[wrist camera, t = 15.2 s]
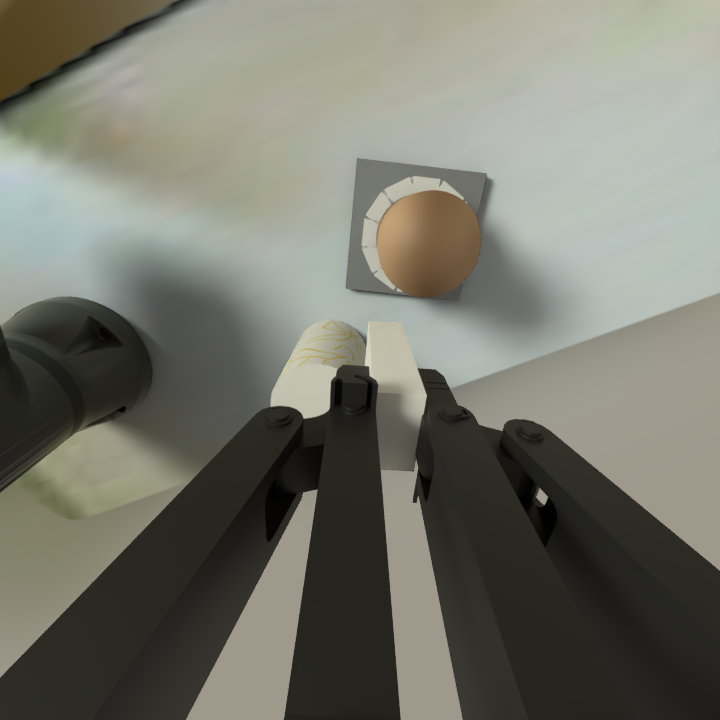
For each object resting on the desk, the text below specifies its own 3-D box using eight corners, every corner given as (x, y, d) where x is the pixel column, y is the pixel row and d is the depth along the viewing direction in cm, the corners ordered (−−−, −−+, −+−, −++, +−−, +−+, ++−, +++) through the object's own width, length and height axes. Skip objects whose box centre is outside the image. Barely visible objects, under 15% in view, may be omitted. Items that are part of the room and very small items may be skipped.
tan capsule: (371, 267, 35) (372, 291, 25) (380, 190, 32) (385, 184, 22) (439, 274, 35) (467, 302, 25) (454, 199, 33) (492, 196, 23)
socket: (346, 286, 38) (342, 298, 33) (357, 159, 33) (355, 151, 28) (456, 298, 38) (469, 312, 33) (483, 174, 33) (503, 168, 28)
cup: (376, 334, 40) (379, 383, 29) (352, 392, 43) (346, 456, 32) (309, 309, 39) (285, 350, 28) (288, 370, 42) (260, 429, 31)
